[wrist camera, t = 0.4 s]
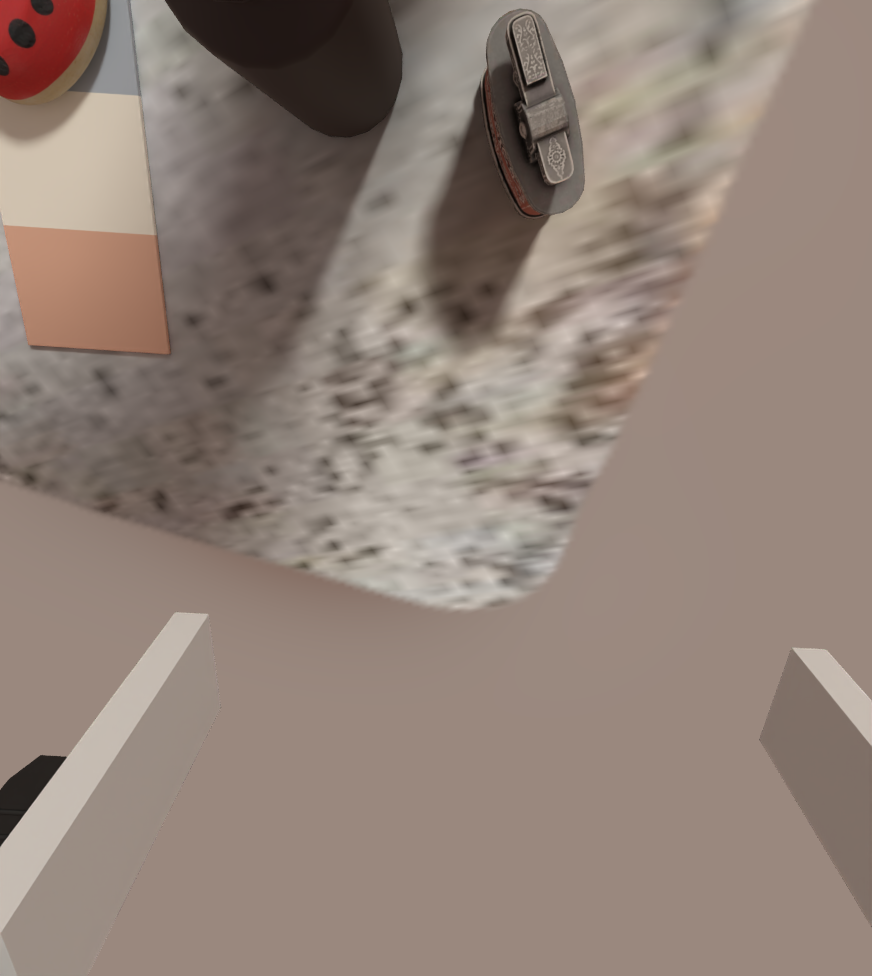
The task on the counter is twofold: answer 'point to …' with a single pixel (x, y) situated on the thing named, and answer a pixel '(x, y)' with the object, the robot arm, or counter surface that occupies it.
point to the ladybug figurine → (46, 46)
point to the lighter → (531, 117)
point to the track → (85, 207)
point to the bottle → (307, 55)
